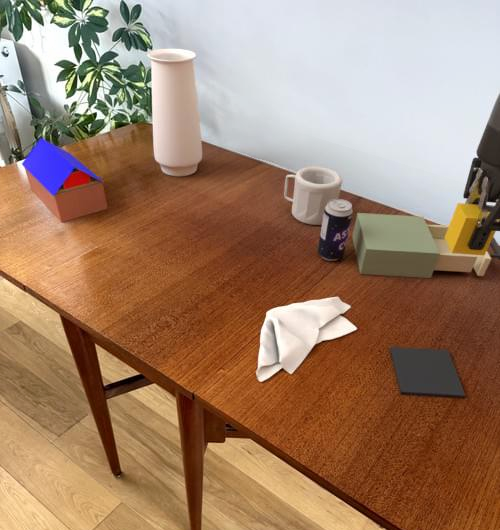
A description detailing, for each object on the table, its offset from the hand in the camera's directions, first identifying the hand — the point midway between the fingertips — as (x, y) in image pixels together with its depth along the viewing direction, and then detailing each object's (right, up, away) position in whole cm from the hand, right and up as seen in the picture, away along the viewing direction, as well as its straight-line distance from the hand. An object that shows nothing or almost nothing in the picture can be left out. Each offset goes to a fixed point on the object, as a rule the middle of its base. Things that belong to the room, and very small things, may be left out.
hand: (469, 239), depth 71 cm
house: (-78, +18, +43) cm, 91 cm away
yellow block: (0, -1, +1) cm, 1 cm away
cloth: (-26, -14, +11) cm, 31 cm away
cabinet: (-3, +2, +30) cm, 30 cm away
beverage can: (-16, +2, +29) cm, 34 cm away
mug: (-20, +15, +42) cm, 49 cm away
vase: (-54, +31, +58) cm, 85 cm away
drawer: (+10, +2, +29) cm, 31 cm away
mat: (-5, -21, +5) cm, 22 cm away
